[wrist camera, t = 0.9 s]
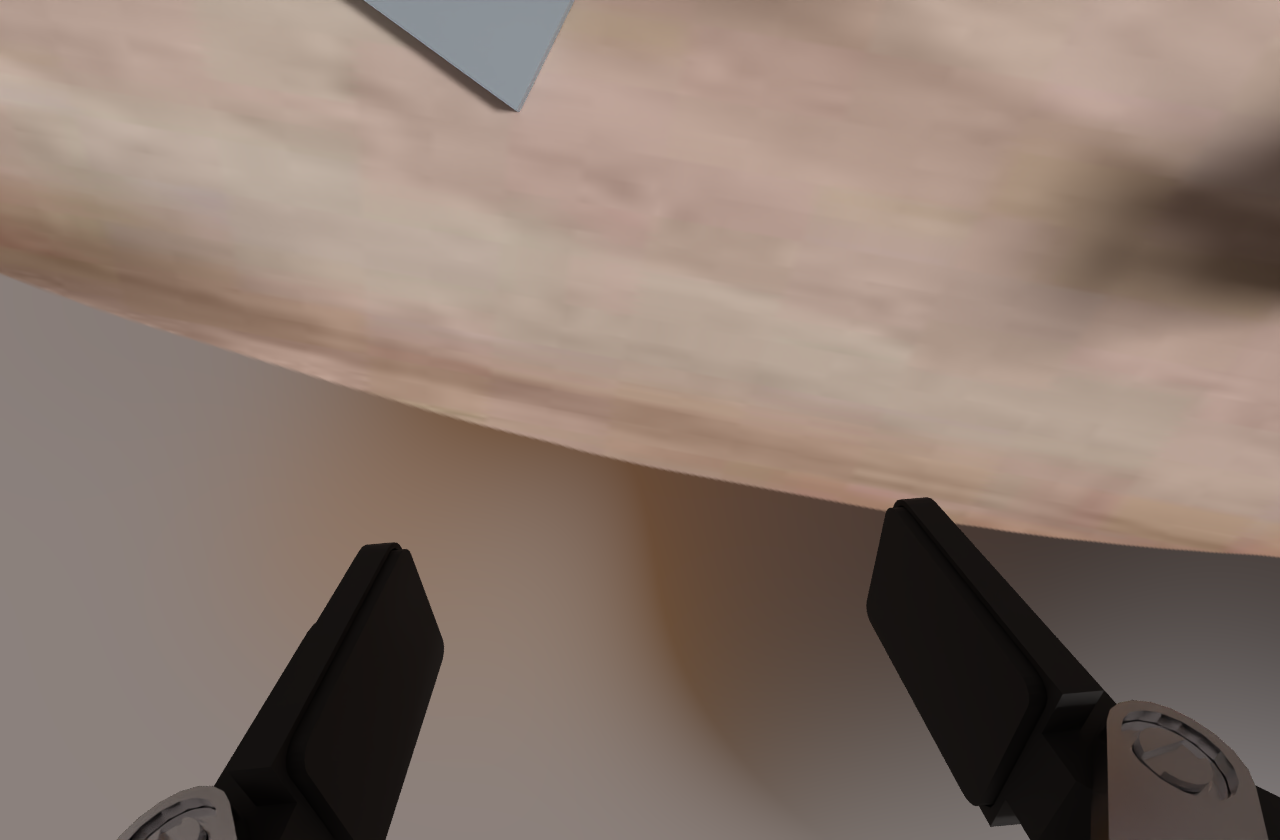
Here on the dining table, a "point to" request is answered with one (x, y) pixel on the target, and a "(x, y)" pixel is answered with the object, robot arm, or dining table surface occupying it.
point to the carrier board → (485, 37)
